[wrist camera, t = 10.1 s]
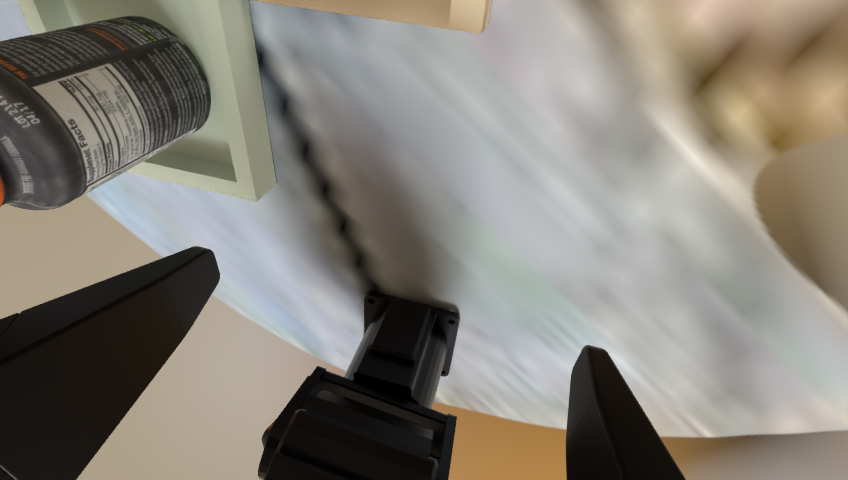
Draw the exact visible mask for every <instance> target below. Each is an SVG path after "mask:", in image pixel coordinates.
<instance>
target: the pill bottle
mask: <svg viewBox="0 0 848 480" xmlns="http://www.w3.org/2000/svg"><path fill="white" fill-rule="evenodd" d="M210 109H211V94H210V88H209V84H208V81H207V78H206V76H205V74H204V71H203V69H202V67H201V66H200V64H199V62H198V60H197V59H196V57H195V56H194V54H193V53H192V52H191V50H190V49H189V48H188V47H187V46H186V44H185V43H184V42H183V41H182V40H181V39H180V38H179V37H178V36H177V35H175V34H174V33H173V32H171V31H170V30H169V29H168V28H166V27H164V26H163V25H161V24H160V23H158V22H155V21H153V20H151V19H148V18H145V17H139V16H124V17H119V18H113V19H108V20H103V21H97V22H93V23H88V24H83V25H79V26H73V27H69V28H65V29H58V30H55V31H49V32H45V33H39V34H35V35H30V36H24V37H19V38H15V39H10V40H5V41H1V42H0V206H2V205H4V204H9V205H12V206H15V207H19V208H23V209H29V210H49V209H54V208H58V207H61V206H63V205H65V204H67V203H69V202H71V201H72V200H74V199H76V198H78V197H80V196H82V195H84V194H86V193H87V192H89V191H91V190H93V189H95V188H97V187H98V186H100V185H102V184H103V183H105V182H107V181H109V180H111V179H113V178H114V177H116V176H118V175H120V174H121V173H123V172H125V171H127V170H129V169H131V168H132V167H134V166H136V165H138V164H139V163H141V162H143V161H145V160H146V159H148V158H150V157H152V156H154V155H155V154H157V153H159V152H161V151H163V150H164V149H166V148H168V147H170V146H172V145H173V144H175V143H177V142H179V141H180V140H182V139H184V138H186V137H188V136H190V135H191V134H193V133H194V132H196V131H198V130H199V129H201V128H202V127H203V126H204V124H205V123H206V121H207V119H208V117H209V114H210Z"/></svg>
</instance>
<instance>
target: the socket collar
mask: <svg viewBox="0 0 848 480" xmlns="http://www.w3.org/2000/svg"><path fill="white" fill-rule="evenodd" d="M252 1H259V2H266V3H273V4H280V5H287V6H293V7H300V8H307V9H314V10H321V11H328V12H335V13H342V14H348V15H355V16H362V17H369V18H376V19H383V20H390V21H397V22H403V23H410V24H417V25H424V26H431V27H438V28H445V29H452V30H458V31H465V32H472V33H479V34H481V33H482V32H483V31H484V29H485V28H486V27H487V26H488V23H489V17H490V11H491V4H492V0H252Z"/></svg>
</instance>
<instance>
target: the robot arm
mask: <svg viewBox="0 0 848 480" xmlns="http://www.w3.org/2000/svg"><path fill="white" fill-rule="evenodd" d="M219 279H220V272H219V269H218V265H217V262H216V258H215V255H214V253H213V251H212V250H210V249H206V248H202V247H198V246H195V247H191V248H189V249H186V250H183V251H181V252H178V253H175V254H173V255H170V256H167V257H165V258H162V259H159V260H157V261H155V262H151V263H149V264H146V265H144V266H141V267H138V268H135V269H133V270H130V271H127V272H125V273H122V274H120V275H117V276H114V277H112V278H109V279H106V280H104V281H101V282H98V283H96V284H93V285H90V286H88V287H85V288H82V289H80V290H77V291H75V292H72V293H69V294H67V295H64V296H61V297H59V298H56V299H53V300H51V301H48V302H45V303H43V304H40V305H37V306H35V307H32V308H29V309H27V310H24V311H22V312H21V313H20V314H19V313H16V314H13V315H11V316H8V317H5V318H3V319H0V480H76V479H77V478H78V476H79V475H80V474H81V473H82V471H83V470H84V468H85V467H86V466H87V465H88V463H89V462H90V461H91V460H92V458H93V457H94V456H95V454H96V453H97V452H98V450H99V449H100V448H101V446H102V445H103V444H104V443H105V441H106V440H107V439H108V437H109V436H110V435H111V433H112V432H113V431H114V429H115V428H116V427H117V425H118V424H119V423H120V421H121V420H122V419H123V417H124V416H125V415H126V414H127V412H128V411H129V410H130V408H131V407H132V406H133V404H134V403H135V402H136V400H137V399H138V398H139V396H140V395H141V393H142V392H143V391H144V390H145V389H146V387H147V386H148V385H149V383H150V382H151V381H152V379H153V378H154V377H155V375H156V374H157V373H158V371H159V370H160V369H161V367H162V366H163V365H164V364H165V362H166V361H167V360H168V358H169V357H170V356H171V354H172V353H173V352H174V351H175V349H176V348H177V347H178V345H179V344H180V343H181V341H182V340H183V338H184V337H185V336H186V334H187V333H188V331H189V330H190V328H191V327H192V325H193V324H194V322H195V320H196V319H197V317H198V315H199V314H200V312H201V310H202V309H203V307H204V305H205V304H206V302H207V301H208V299H209V297H210V296H211V294H212V293H213V291H214V289H215V288H216V286H217V284H218V282H219ZM451 319H453V320H451ZM459 321H460V317H459V315H458V314H457V313H455V312H451V311H447V310H443V309H439V308H435V307H431V306H427V305H424V304H420V303H416V302H412V301H408V300H404V299H400V298H396V297H392V296H388V295H384V294H380V293H376V292H368V293H367V294H366V296H365V298H364V333H365V335H364V337H363V339H362V341H361V343H360V345H359V347H358V349H357V351H356V353H355V355H354V358H353V360H352V362H351V364H350V366H349V368H348V370H347V372H346V374H345V376H344V377H342V376H340V375H337V374H334V373H331V372H329V371H326V369H325V368H322V367H319V366H317V367H316V369H315V370H314V372H313V373H312V374H311V376H308V377H307V378H306V380H305V381H304V382H303V384H302V385H301V386H300V388H299V389H298V391H297V392H296V393H295V395H294V396H293V397H292V399H291V400H290V401H289V403H288V404H287V406H286V407H285V408H284V410H283V411H282V412H281V414H280V415H279V416H278V418H277V419H276V420H275V421H274V422H273V423H272V424H271V425H270V426H269V427H268V428H267V429H266V430H265V432H264V434H263V437H262V443H263V447H264V451H263V455H262V458H261V461H260V464H259V469H258V477H259V478H260V479H262V480H448V477H449V470H450V462H451V455H452V448H453V441H454V434H455V427H456V419H457V417H456V416H454V415H451V414H447V415H446V414H443V413H441V412H438V411H435V410H433V409H432V405H433V402H434V398H435V394H436V391H437V387H438V383H439V379H440V376H447V375H448V374H449V371H450V366H451V361H452V356H453V351H454V346H455V341H456V336H457V331H458V326H459ZM566 471H567V480H686V479H685V477H684V475H683V474H682V472H681V471H680V469H679V467H678V466H677V464H676V463H675V461H674V459H673V458H672V456H671V455H670V453H669V451H668V450H667V448H666V446H665V445H664V443H663V442H662V440H661V438H660V437H659V435H658V433H657V432H656V430H655V429H654V427H653V425H652V424H651V422H650V420H649V419H648V417H647V416H646V414H645V412H644V411H643V409H642V408H641V406H640V404H639V403H638V401H637V399H636V398H635V396H634V395H633V393H632V391H631V390H630V388H629V386H628V385H627V383H626V382H625V380H624V378H623V377H622V375H621V374H620V372H619V370H618V369H617V367H616V365H615V364H614V362H613V361H612V359H611V357H610V356H609V354H608V353H607V351H606V350H604V349H602V348H598V347H594V346H590V345H586V346H585V347H584V348H583V349H582V351H581V353H580V355H579V357H578V359H577V361H576V363H575V365H574V367H573V370H572V374H571V383H570V396H569V408H568V420H567V434H566Z"/></svg>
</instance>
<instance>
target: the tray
mask: <svg viewBox="0 0 848 480" xmlns="http://www.w3.org/2000/svg"><path fill="white" fill-rule="evenodd" d="M17 2H18V4H19V6H20V9H21V11H22V13H23V15H24V17H25V20H26V22H27V24H28V26H29V28H30V31H31V33H32V35H35V34H39V33H45V32H49V31H55V30H58V29H65V28H69V27H73V26H79V25H83V24H88V23H93V22H97V21H103V20H108V19H113V18H119V17H124V16H139V17H145V18H148V19H151V20H153V21H155V22H158V23H160V24H161V25H163V26H164V27H166V28H168V29H169V30H170V31H171V32H173V33H174V34H175V35H177V36H178V37H179V38H180V39H181V40H182V41H183V42H184V43H185V44H186V46H187V47H188V48H189V49H190V50H191V52H192V53H193V54H194V56H195V57H196V59H197V60H198V62H199V64H200V66H201V67H202V69H203V71H204V74H205V76H206V78H207V81H208V84H209V88H210V94H211V109H210V114H209V117H208V119H207V121H206V123H205V124H204V126H203V127H202V128H201V129H199V130H198V131H196V132H194V133H193V134H191V135H190V136H188V137H186V138H184V139H182V140H180V141H179V142H177V143H175V144H173V145H172V146H170V147H168V148H166V149H164V150H163V151H161V152H159V153H157V154H155V155H154V156H152V157H150V158H148V159H146V160H145V161H143V162H141V163H139V164H138V165H136V166H134V167H132V168H131V169H129V170H127V171H125V172H128V173H133V174H137V175H141V176H146V177H150V178H155V179H159V180H163V181H168V182H172V183H176V184H181V185H185V186H190V187H194V188H198V189H203V190H207V191H212V192H216V193H220V194H225V195H229V196H234V197H238V198H242V199H247V200H251V201H255V202H257V201H258V200H259V199H260V198H261V197H263V196H264V195H265V194H266V193H267V192H268V191H269V190H271V189H272V188H273V187H274V186H275V185H276V184H277V183H276V177H275V170H274V164H273V157H272V151H271V144H270V138H269V131H268V125H267V118H266V112H265V105H264V99H263V92H262V86H261V79H260V73H259V66H258V60H257V53H256V47H255V40H254V34H253V27H252V21H251V14H250V8H249V1H248V0H17Z"/></svg>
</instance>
